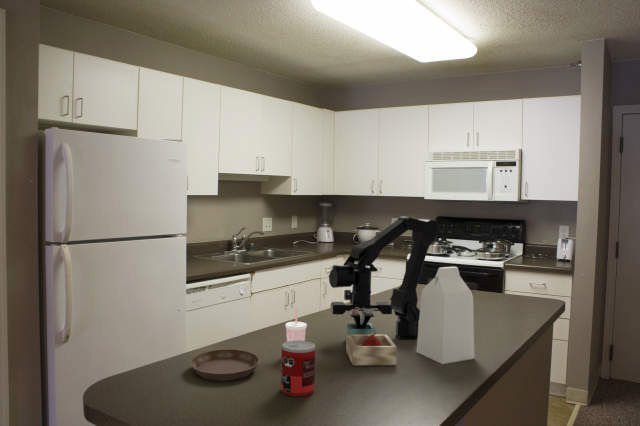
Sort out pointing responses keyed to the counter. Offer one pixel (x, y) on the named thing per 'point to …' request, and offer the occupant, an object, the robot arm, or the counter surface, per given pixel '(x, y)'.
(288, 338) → the beverage cup
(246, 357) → the plant saucer
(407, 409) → the counter surface
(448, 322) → the milk
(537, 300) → the counter surface
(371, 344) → the onion
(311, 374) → the canned food
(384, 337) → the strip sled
